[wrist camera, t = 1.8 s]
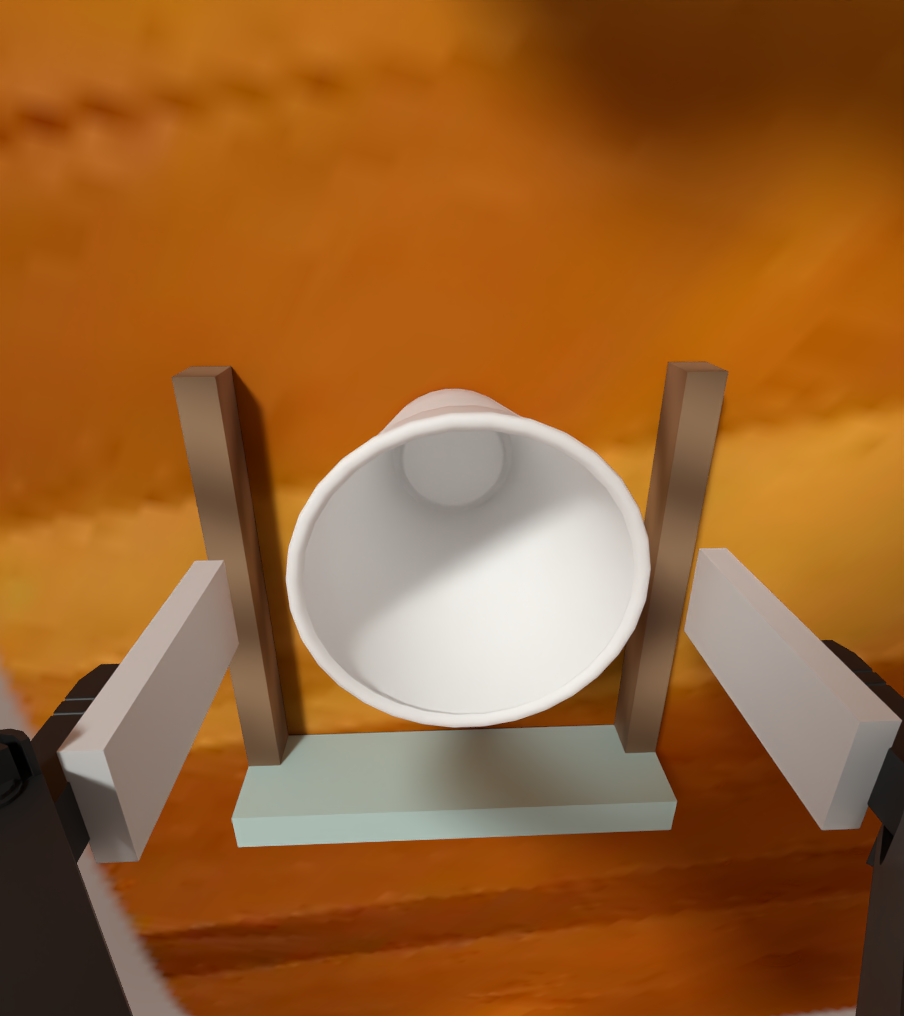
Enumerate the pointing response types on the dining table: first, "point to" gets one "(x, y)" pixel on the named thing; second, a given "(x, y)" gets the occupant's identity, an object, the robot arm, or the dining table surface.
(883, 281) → the dining table surface
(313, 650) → the cup
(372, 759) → the block
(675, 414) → the channel
